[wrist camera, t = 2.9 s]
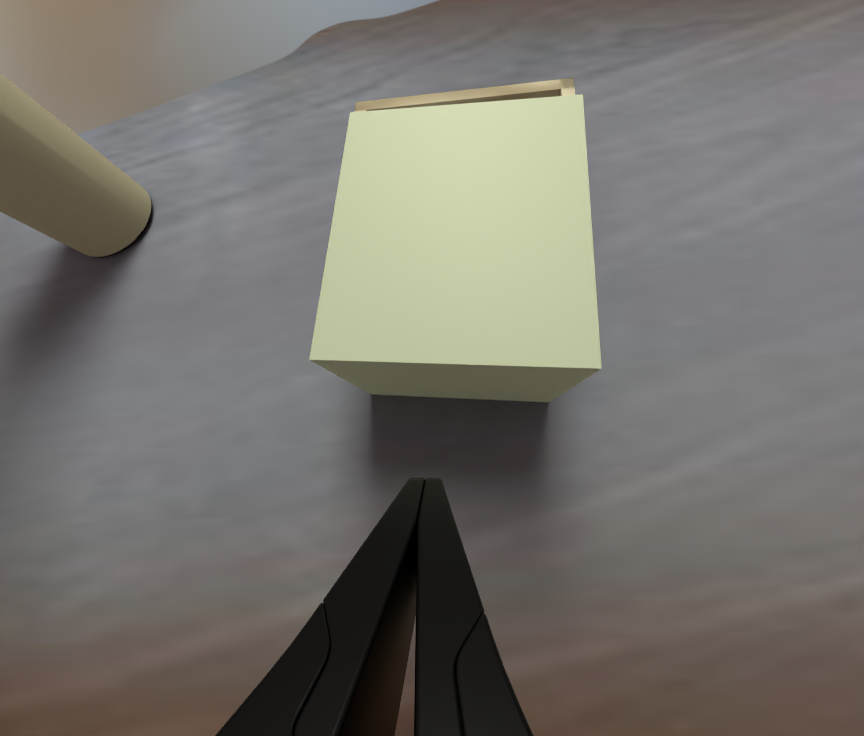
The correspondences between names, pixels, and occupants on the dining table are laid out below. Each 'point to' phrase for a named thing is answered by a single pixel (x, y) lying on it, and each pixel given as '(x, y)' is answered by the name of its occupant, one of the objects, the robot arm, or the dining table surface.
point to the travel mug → (64, 181)
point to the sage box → (462, 253)
